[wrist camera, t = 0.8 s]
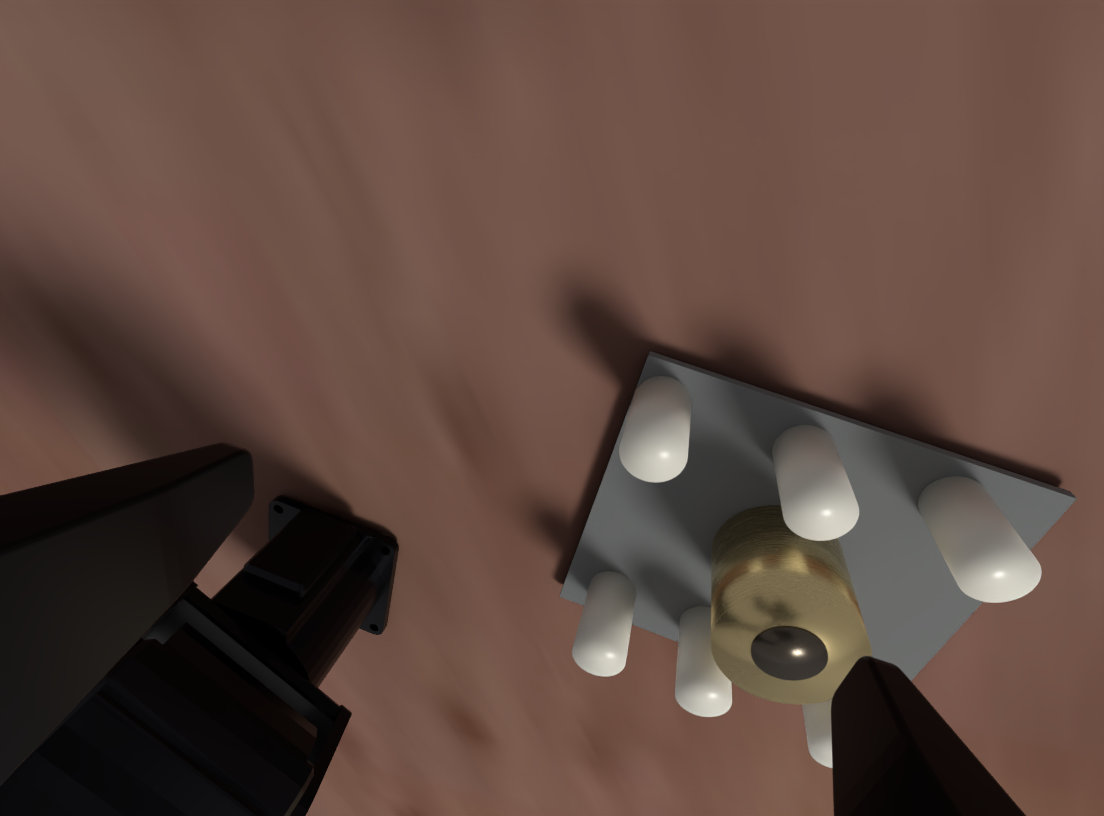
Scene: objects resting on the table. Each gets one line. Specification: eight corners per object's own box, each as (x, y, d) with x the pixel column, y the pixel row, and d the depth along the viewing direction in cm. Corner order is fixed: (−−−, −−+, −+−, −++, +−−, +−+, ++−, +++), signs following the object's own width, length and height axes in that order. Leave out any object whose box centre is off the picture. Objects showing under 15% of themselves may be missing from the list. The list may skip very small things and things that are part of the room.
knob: (806, 618, 22) (826, 726, 19) (693, 576, 23) (689, 672, 19) (867, 532, 20) (904, 634, 16) (740, 487, 21) (746, 576, 17)
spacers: (835, 692, 24) (852, 776, 21) (562, 588, 25) (541, 653, 22) (1002, 489, 18) (1058, 562, 15) (643, 367, 20) (631, 413, 17)
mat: (874, 709, 24) (876, 718, 24) (561, 589, 26) (559, 596, 25) (1070, 491, 18) (1077, 498, 18) (649, 350, 20) (648, 354, 19)
